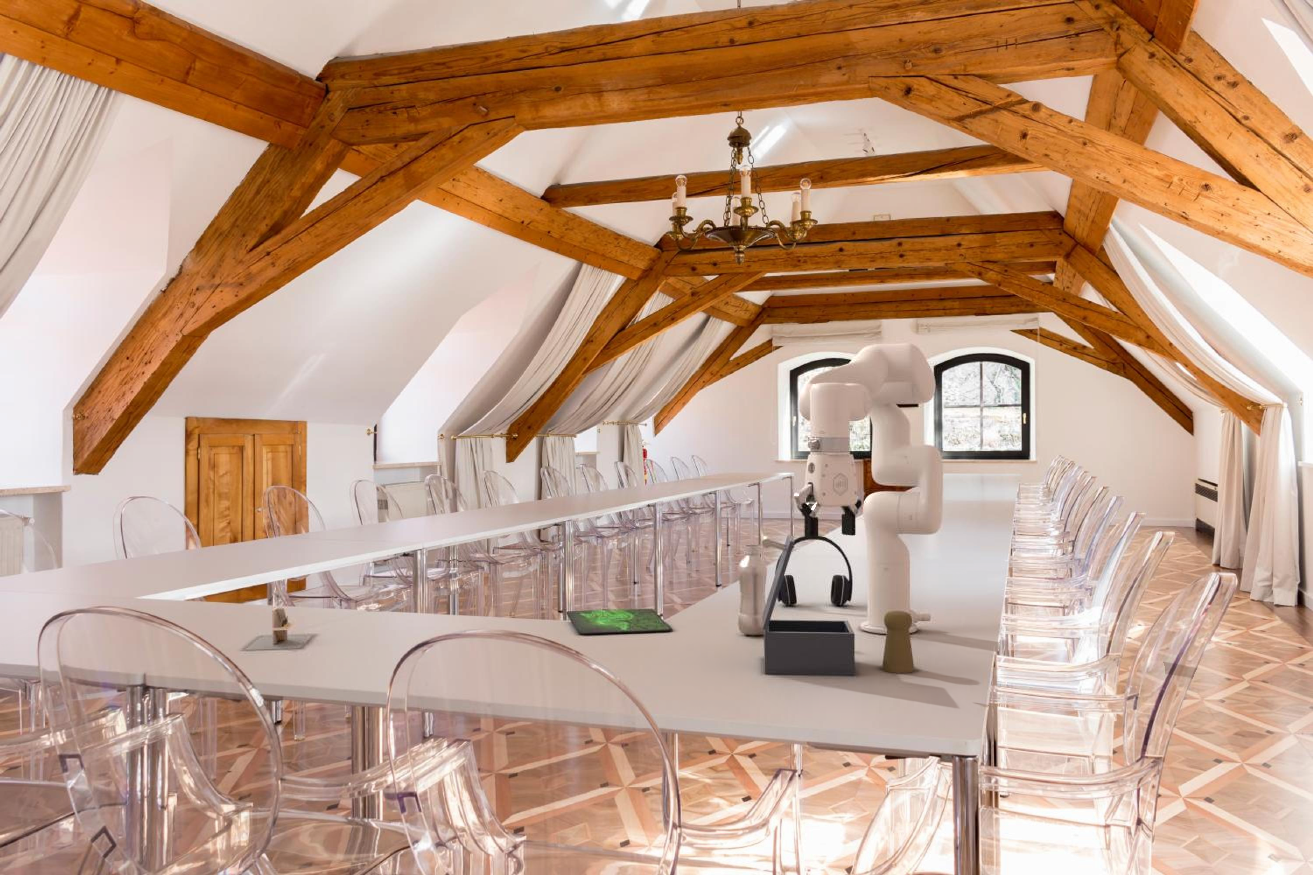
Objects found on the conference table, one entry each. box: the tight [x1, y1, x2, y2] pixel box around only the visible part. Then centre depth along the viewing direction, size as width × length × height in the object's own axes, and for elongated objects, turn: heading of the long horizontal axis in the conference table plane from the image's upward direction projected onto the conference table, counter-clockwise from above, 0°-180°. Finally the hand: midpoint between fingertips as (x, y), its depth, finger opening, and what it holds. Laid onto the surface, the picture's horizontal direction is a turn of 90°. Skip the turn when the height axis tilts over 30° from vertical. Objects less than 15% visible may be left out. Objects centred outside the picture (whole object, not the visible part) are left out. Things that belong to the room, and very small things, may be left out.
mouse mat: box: [566, 608, 673, 635], centre depth 249 cm, size 27×22×1 cm
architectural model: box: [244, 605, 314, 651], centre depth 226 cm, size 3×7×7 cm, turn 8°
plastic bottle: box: [737, 544, 768, 636], centre depth 234 cm, size 6×7×20 cm
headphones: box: [774, 535, 854, 607], centre depth 273 cm, size 20×7×18 cm, turn 89°
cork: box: [881, 611, 915, 674], centre depth 199 cm, size 6×6×11 cm
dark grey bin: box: [763, 619, 856, 676], centre depth 201 cm, size 17×14×8 cm
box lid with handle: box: [761, 533, 795, 630], centre depth 202 cm, size 17×14×6 cm
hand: (830, 536), depth 200 cm, fingers open, 9 cm apart
